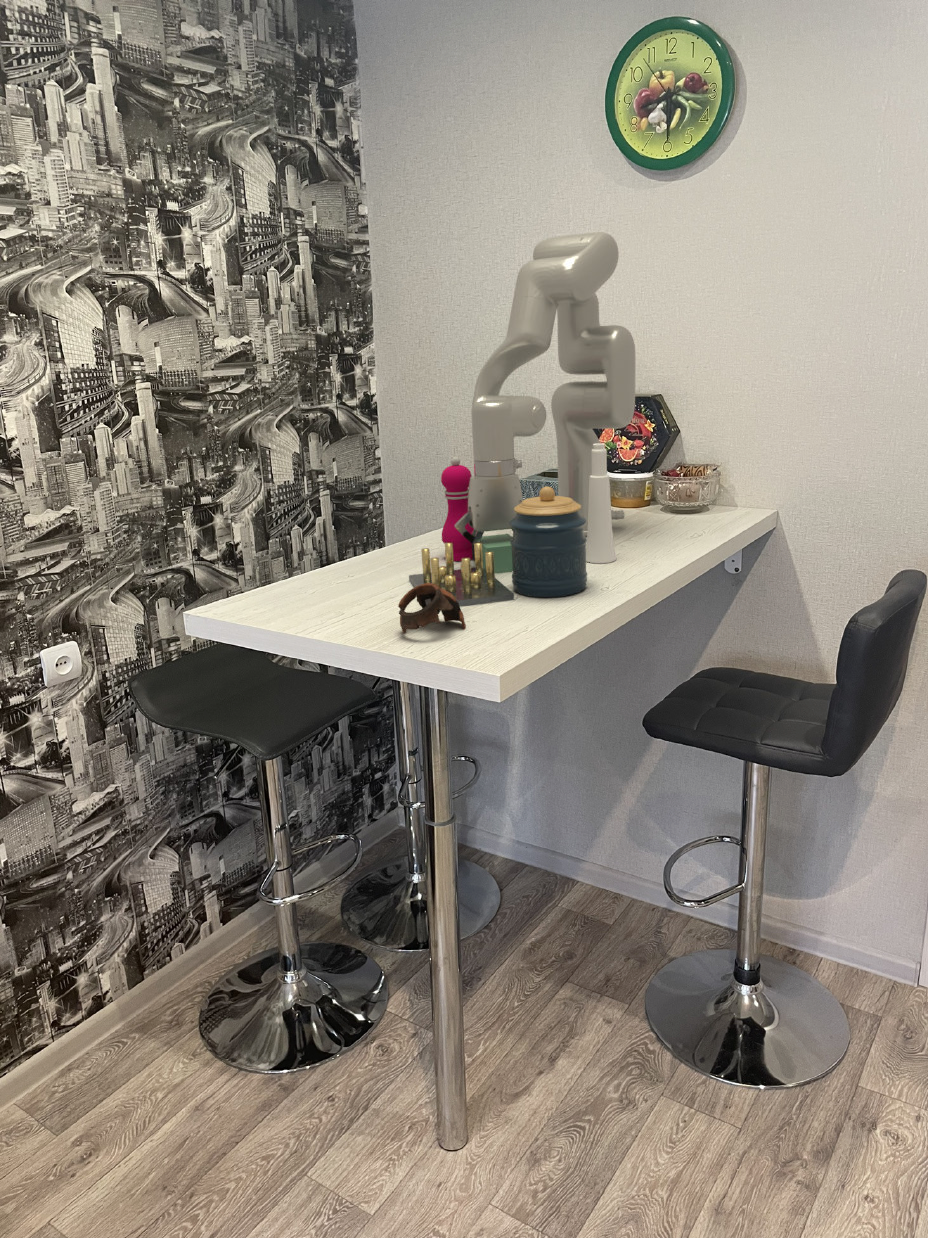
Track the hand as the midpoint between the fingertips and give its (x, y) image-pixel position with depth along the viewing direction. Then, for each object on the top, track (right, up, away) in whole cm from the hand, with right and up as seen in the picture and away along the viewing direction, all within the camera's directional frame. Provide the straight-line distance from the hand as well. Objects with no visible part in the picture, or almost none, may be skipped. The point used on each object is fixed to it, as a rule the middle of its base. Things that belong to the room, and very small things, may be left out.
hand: (498, 561), depth 178 cm
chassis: (-7, -6, -14) cm, 17 cm away
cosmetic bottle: (+19, 0, +1) cm, 20 cm away
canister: (+8, -6, -16) cm, 19 cm away
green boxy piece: (0, -1, 0) cm, 1 cm away
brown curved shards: (-11, -13, -34) cm, 38 cm away
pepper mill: (-7, +1, +9) cm, 11 cm away
